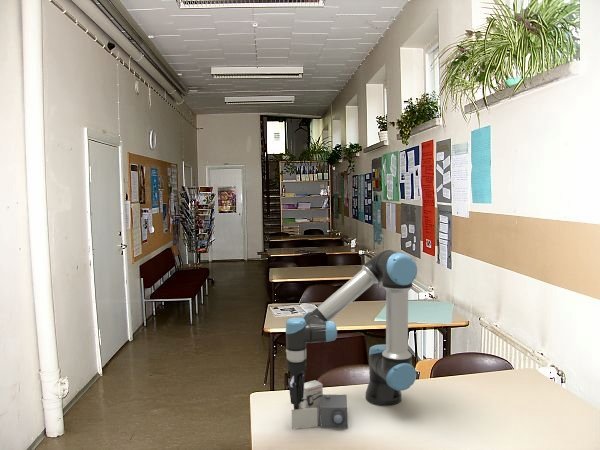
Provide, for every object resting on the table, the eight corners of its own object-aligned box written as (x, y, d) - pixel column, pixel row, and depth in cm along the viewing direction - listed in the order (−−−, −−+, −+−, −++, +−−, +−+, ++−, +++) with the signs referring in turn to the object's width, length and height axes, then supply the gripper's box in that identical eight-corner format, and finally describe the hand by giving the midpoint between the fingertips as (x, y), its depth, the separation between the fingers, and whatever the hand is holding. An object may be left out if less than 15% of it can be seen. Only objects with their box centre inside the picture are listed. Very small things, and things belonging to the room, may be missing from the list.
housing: (346, 414, 203) (346, 392, 203) (347, 430, 190) (347, 408, 189) (321, 413, 204) (321, 392, 203) (320, 430, 190) (320, 407, 190)
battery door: (291, 427, 192) (291, 409, 192) (319, 424, 194) (319, 407, 193) (292, 428, 191) (291, 410, 190) (320, 426, 193) (320, 408, 192)
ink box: (306, 417, 202) (305, 388, 201) (299, 412, 206) (298, 384, 205) (323, 411, 206) (323, 383, 205) (316, 407, 210) (315, 379, 210)
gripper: (293, 352, 200) (294, 410, 202) (280, 364, 188) (282, 425, 190) (311, 354, 198) (312, 413, 199) (299, 366, 185) (301, 428, 187)
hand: (297, 419), depth 195 cm, fingers closed
